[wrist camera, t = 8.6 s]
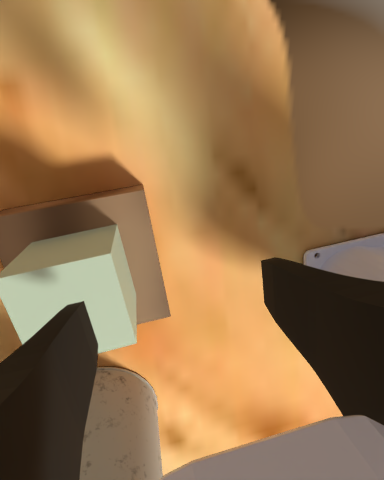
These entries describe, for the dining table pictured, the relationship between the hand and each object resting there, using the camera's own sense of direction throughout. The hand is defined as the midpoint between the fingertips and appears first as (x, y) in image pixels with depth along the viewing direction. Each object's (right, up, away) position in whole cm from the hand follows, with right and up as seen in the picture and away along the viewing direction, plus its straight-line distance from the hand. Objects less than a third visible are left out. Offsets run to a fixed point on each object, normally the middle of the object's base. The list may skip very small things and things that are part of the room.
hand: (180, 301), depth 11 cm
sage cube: (-6, +1, +7) cm, 9 cm away
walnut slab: (-7, +1, +9) cm, 11 cm away
